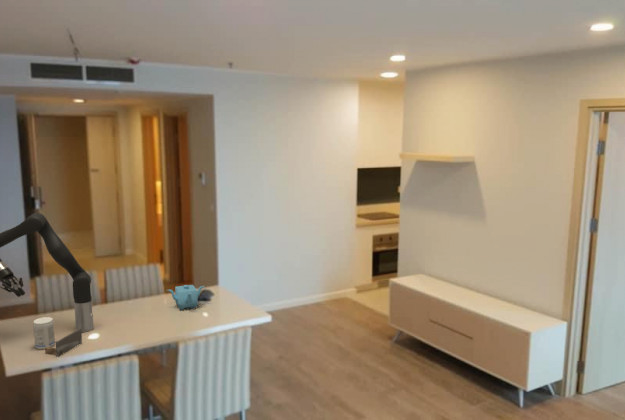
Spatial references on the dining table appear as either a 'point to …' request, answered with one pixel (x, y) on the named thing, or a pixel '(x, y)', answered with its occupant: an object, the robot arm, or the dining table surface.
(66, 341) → the walnut dock
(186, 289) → the teakettle
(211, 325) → the dining table surface
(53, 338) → the supplement tub
